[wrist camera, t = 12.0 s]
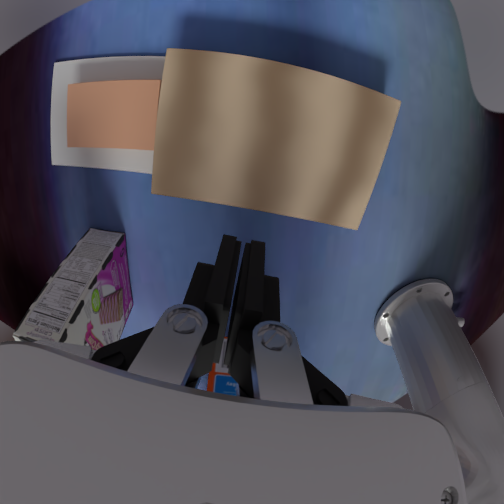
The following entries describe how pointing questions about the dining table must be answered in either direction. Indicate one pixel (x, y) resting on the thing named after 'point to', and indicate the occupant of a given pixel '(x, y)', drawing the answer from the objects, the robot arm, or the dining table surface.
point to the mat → (87, 73)
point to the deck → (268, 136)
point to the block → (113, 113)
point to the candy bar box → (83, 295)
